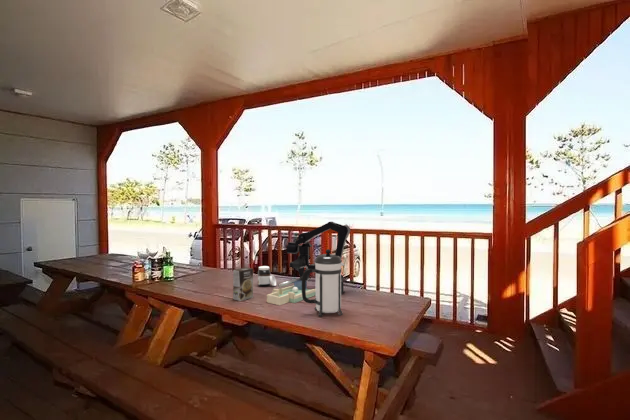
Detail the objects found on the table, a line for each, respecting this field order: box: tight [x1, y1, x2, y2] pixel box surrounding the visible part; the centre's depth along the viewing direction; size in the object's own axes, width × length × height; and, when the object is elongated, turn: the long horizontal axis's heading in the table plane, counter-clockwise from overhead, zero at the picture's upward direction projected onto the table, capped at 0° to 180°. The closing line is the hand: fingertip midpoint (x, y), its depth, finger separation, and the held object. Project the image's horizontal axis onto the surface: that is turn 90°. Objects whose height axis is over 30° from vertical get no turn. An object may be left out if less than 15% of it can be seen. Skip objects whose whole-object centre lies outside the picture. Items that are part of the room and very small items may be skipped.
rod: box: [277, 276, 310, 290], centre depth 187 cm, size 8×24×6 cm, turn 143°
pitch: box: [266, 284, 316, 306], centre depth 179 cm, size 16×28×5 cm, turn 143°
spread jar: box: [257, 265, 277, 288], centre depth 207 cm, size 12×11×12 cm
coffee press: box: [302, 249, 345, 318], centre depth 154 cm, size 17×16×30 cm
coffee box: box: [232, 267, 254, 302], centre depth 178 cm, size 9×6×16 cm
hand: (304, 280), depth 196 cm, fingers closed on rod, 3 cm apart
